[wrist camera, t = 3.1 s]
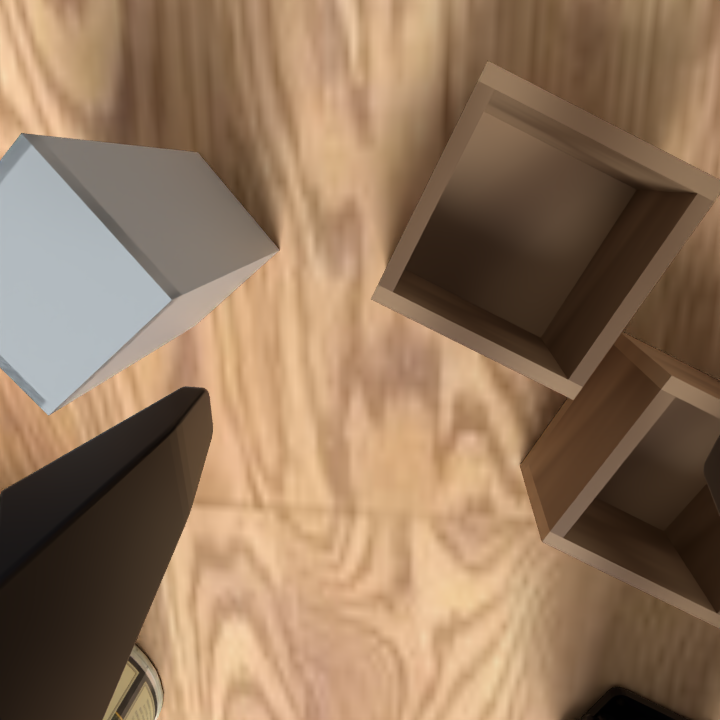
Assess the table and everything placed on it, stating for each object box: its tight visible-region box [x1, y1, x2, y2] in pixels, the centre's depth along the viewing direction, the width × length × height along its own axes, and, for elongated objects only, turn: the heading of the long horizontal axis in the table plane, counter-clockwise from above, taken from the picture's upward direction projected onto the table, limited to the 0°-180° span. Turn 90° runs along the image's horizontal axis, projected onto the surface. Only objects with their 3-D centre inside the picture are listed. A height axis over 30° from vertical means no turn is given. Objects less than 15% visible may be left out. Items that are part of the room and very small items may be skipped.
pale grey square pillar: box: [0, 133, 279, 415], centre depth 17 cm, size 5×5×9 cm
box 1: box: [371, 61, 720, 400], centre depth 17 cm, size 7×7×5 cm
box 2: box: [520, 332, 720, 629], centre depth 19 cm, size 7×7×5 cm
